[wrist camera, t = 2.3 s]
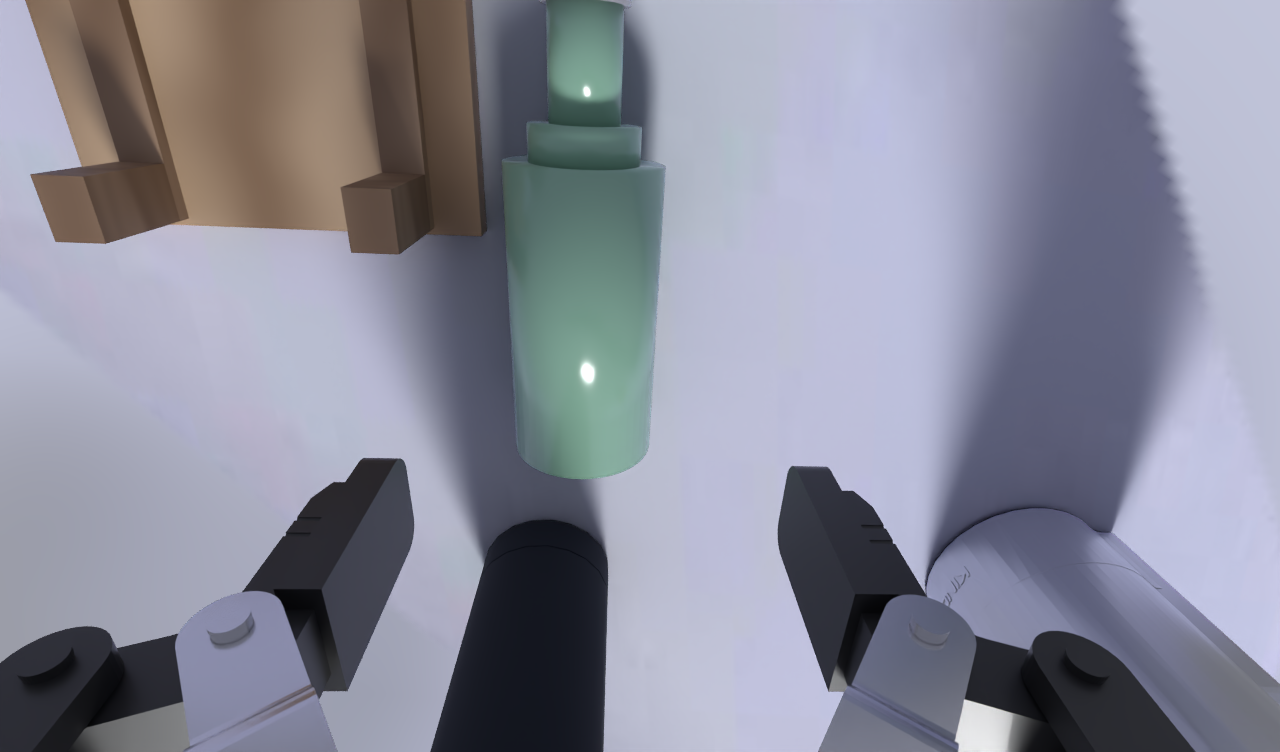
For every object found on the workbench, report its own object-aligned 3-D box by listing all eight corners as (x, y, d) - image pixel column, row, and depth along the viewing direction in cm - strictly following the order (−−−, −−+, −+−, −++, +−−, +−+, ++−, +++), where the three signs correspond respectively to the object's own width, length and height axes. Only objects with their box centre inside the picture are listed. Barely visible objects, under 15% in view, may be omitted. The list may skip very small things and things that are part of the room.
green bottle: (665, 423, 27) (620, 493, 22) (554, 399, 28) (489, 459, 23) (697, -13, 20) (640, -49, 15) (546, -13, 21) (451, -45, 16)
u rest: (464, -118, 19) (415, -182, 15) (487, 230, 24) (455, 264, 19) (3, -148, 18) (-198, -224, 14) (120, 216, 23) (0, 247, 19)
